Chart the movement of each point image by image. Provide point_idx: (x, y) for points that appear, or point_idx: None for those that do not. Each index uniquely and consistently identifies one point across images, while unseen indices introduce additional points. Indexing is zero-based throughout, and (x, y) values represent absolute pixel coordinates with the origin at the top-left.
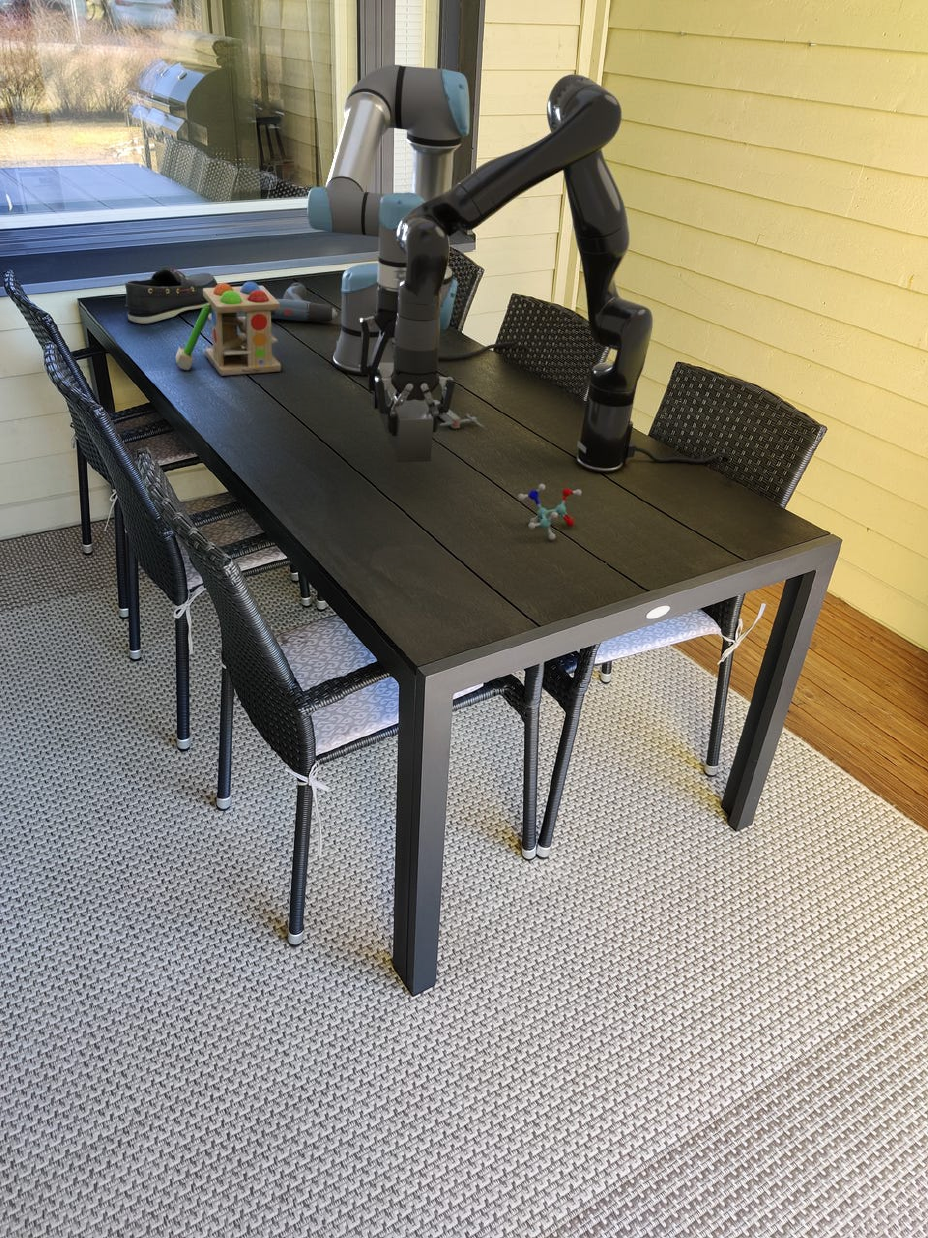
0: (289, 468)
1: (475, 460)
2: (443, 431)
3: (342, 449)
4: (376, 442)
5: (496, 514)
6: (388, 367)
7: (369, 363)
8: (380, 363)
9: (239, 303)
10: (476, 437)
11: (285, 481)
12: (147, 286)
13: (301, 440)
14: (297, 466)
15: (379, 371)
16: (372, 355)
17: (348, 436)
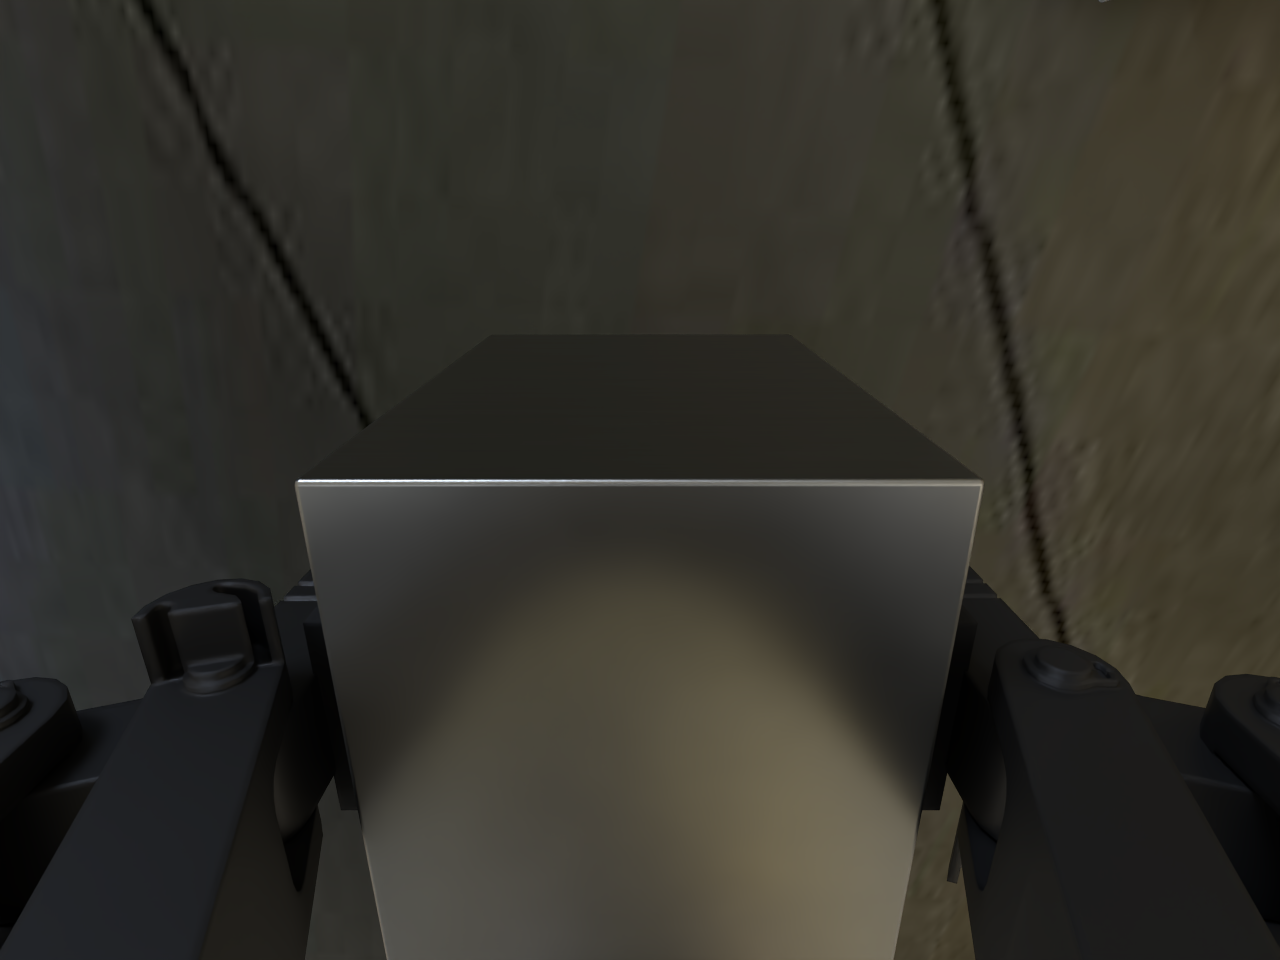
0: (97, 527)
1: (1099, 483)
2: (1092, 25)
3: (363, 307)
4: (580, 208)
5: (958, 918)
6: (544, 730)
7: (122, 748)
8: (395, 527)
9: None
10: (1276, 150)
11: (107, 649)
12: None
13: (91, 154)
14: (134, 508)
15: (370, 861)
16: (31, 939)
17: (399, 96)
